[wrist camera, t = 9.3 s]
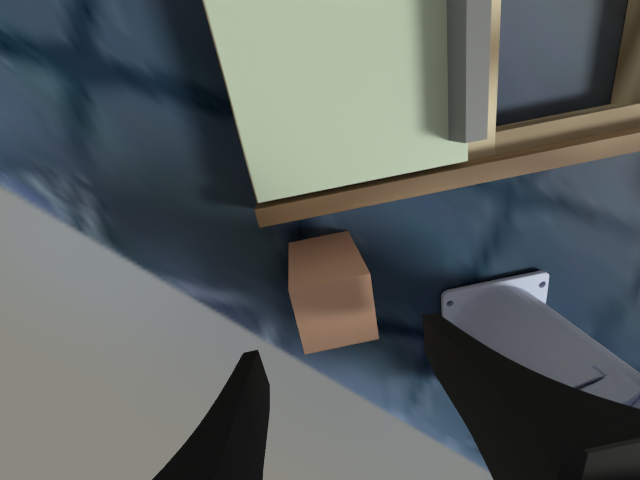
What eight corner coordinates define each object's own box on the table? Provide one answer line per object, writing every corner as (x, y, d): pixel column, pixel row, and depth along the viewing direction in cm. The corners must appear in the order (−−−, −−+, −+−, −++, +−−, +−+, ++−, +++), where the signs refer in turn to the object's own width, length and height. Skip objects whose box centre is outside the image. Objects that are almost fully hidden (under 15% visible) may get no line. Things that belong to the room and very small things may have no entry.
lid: (456, 158, 17) (486, 165, 14) (260, 197, 17) (255, 212, 14) (454, -91, 13) (496, -144, 10) (197, -44, 13) (173, -85, 10)
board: (633, 135, 19) (697, 139, 16) (264, 210, 19) (259, 227, 16) (693, -149, 14) (800, -219, 11) (194, -57, 14) (168, -105, 11)
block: (356, 282, 22) (378, 338, 16) (300, 293, 22) (304, 354, 16) (347, 230, 20) (370, 273, 15) (288, 242, 20) (288, 290, 15)
